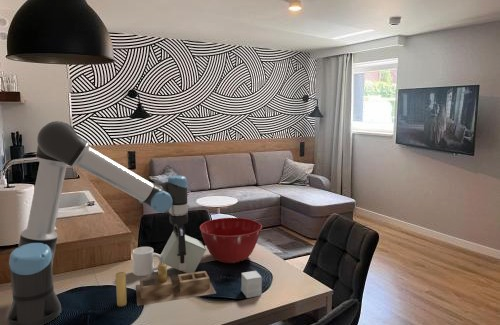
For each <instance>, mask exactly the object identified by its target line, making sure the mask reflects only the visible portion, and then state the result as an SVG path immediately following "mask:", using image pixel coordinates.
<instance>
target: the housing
mask: <svg viewBox="0 0 500 325" xmlns="http://www.w3.org/2000/svg"><path fill="white" fill-rule="evenodd" d="M178 245H179V239H178V235H177V236H176V233H175V232H174V229H173V231H172V232H171V235H170V236H169V238H168V240H167V242H166V244H165V246H164V248H163V250H162V251H161V253H160V256H161V258H162V262H163V263H162V264H166V265H167V266H168V267H170V268H173V269H176V270H178V271H179V261H178V256H177V254H179V249H178ZM185 246H186V255H185V262H186V270H180V271H181V272H183V273H185V274H186V273H194V272H196V270H197V268H198V266H199V264H200V263H201V261H202V258H203V257H204V255H205V253H206V251H207V247H205V246H206V245H204V243H203V240H202V241H201V240H199V239H197V238H194V237H192V236H189V235H187V234H185Z"/></svg>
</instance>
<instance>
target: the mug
mask: <svg viewBox="0 0 500 325" xmlns="http://www.w3.org/2000/svg"><path fill="white" fill-rule="evenodd" d="M154 258H157V259H158V261H159V264H163V262H162V258H161V254H159V253H156V252H154V248H153V247H151V246H140V247H137V248H134V249H133V250H132V269H133V270H132V273H133V275H134V276H137V277H144V276H145V277H146V276H149V275H152V274H153V273H154V271H158V265H159V264H158V265H156V266H154V264H155V263H154V261H155V260H154Z"/></svg>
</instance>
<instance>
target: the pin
mask: <svg viewBox="0 0 500 325" xmlns="http://www.w3.org/2000/svg"><path fill="white" fill-rule="evenodd" d="M115 287H116V288H115V289H116V290H115V292H116V306H118V307H125V306H126V305H127V303H128V301H127V298H128V297H127V277H126V271H118V272H117V273H115Z"/></svg>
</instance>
